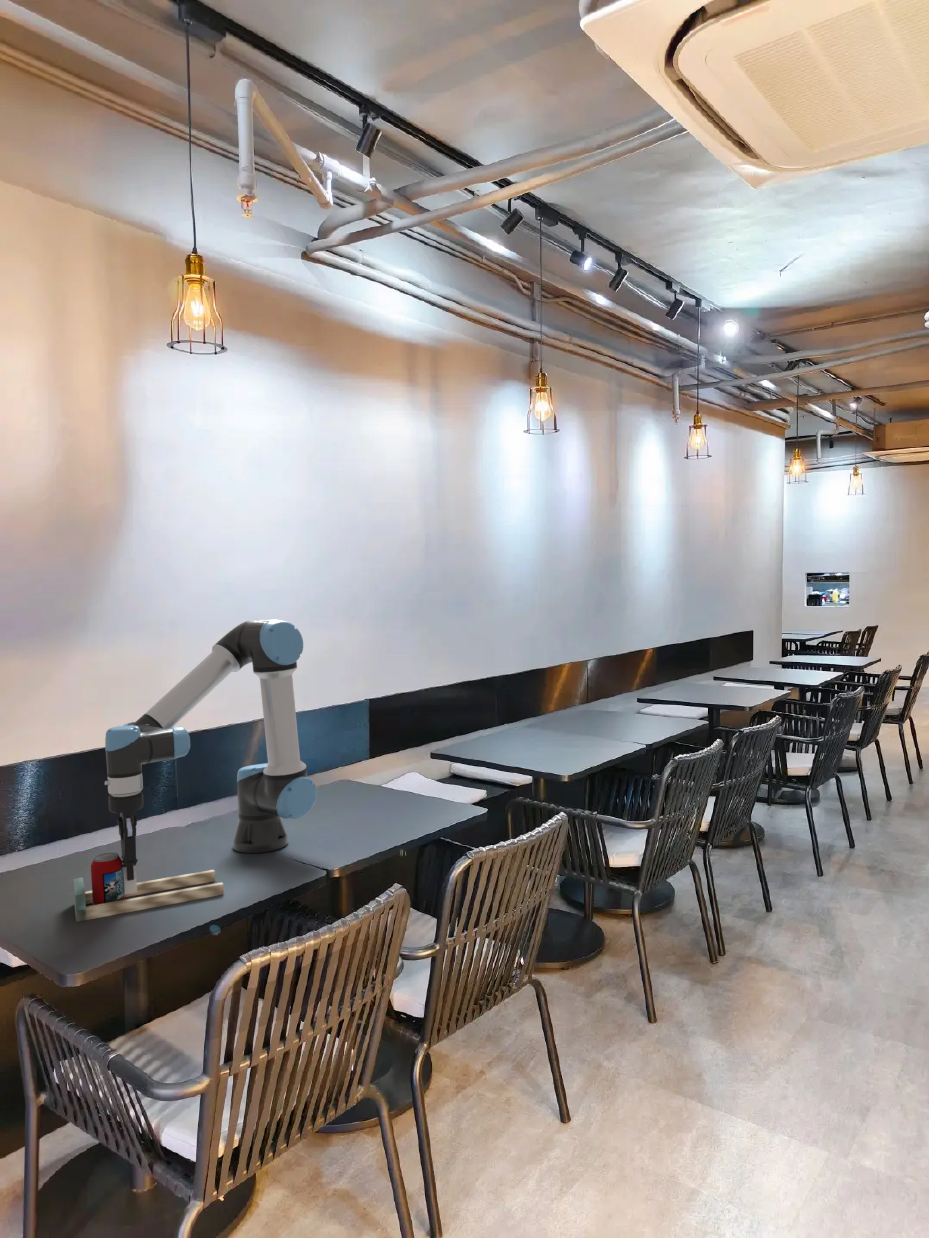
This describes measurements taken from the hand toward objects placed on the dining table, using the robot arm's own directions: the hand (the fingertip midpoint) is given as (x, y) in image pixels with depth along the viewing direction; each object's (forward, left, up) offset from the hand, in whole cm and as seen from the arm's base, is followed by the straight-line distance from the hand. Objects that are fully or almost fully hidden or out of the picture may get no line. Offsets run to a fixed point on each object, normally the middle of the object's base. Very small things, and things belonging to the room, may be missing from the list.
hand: (130, 892), depth 194 cm
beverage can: (+5, 0, -3) cm, 6 cm away
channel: (-4, 0, -3) cm, 5 cm away
